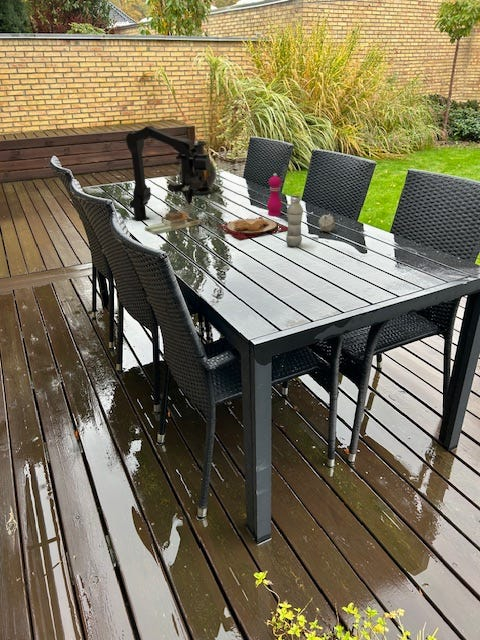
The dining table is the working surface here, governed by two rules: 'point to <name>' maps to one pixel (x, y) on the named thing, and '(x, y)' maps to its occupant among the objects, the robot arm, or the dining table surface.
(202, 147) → the amphora vase
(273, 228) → the plate with food
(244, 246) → the dining table surface
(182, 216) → the sled
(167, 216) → the block
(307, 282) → the dining table surface
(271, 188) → the pepper mill
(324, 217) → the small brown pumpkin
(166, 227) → the deck
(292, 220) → the plastic bottle
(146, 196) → the robot arm
